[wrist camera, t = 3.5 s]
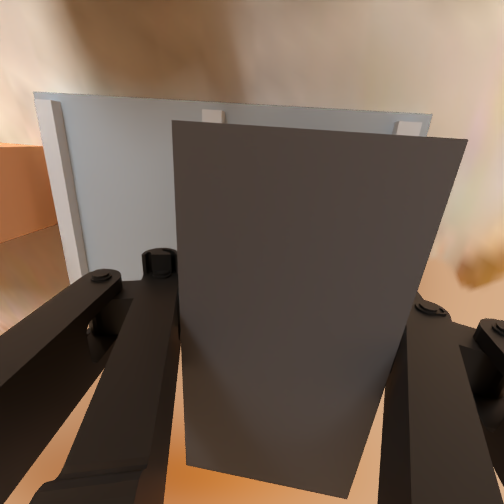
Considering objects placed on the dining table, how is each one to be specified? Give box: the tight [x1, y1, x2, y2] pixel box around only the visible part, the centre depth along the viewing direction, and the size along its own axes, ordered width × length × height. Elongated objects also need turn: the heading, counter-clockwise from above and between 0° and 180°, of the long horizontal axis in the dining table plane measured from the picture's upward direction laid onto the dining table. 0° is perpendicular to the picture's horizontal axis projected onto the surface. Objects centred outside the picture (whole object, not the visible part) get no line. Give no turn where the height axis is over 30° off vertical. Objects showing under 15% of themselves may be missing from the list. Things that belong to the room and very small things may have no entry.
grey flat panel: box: [33, 92, 433, 285], centre depth 20 cm, size 16×25×2 cm, turn 86°
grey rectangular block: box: [171, 120, 468, 499], centre depth 13 cm, size 12×6×10 cm, turn 176°
